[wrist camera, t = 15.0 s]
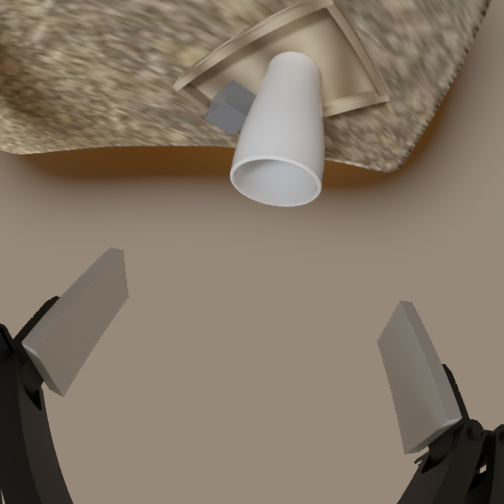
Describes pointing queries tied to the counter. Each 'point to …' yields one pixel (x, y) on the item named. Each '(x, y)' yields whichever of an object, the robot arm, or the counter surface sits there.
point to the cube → (230, 107)
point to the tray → (297, 40)
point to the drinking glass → (283, 136)
